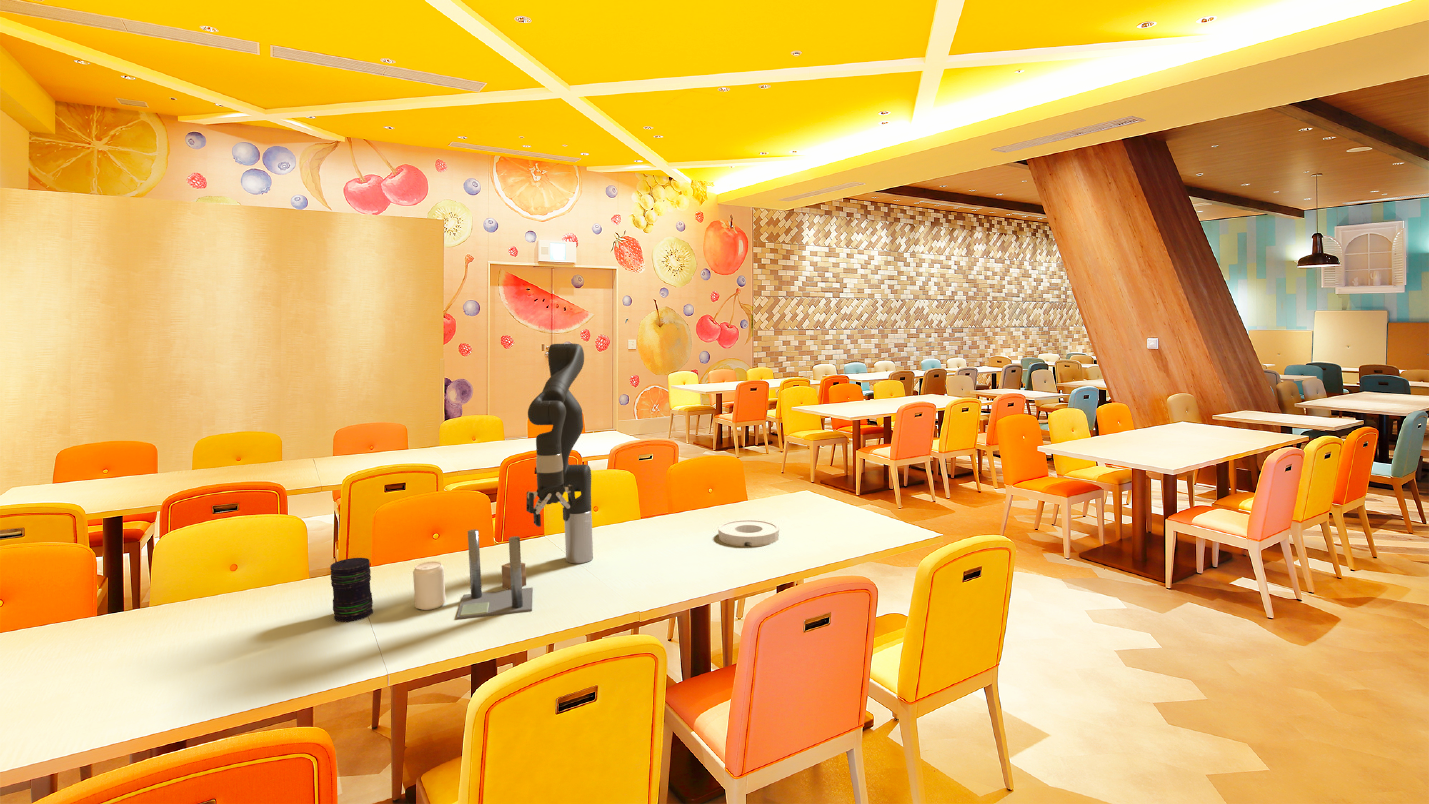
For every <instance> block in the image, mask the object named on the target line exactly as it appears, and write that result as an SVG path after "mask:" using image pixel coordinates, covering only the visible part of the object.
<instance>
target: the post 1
mask: <svg viewBox="0 0 1429 804" xmlns="http://www.w3.org/2000/svg"><path fill="white" fill-rule="evenodd" d="M479 535H480V534H479V529H469V530H467V543H468V546H467V547H468V563H469V564H468V565H469V579H470V580H469V586H470V594H471V598H472V599H478V598H481V597H482V593H483V591H482V590H483V589H482V575H481V573H482V571H481V555H480V553H481V552H480V537H479Z"/></svg>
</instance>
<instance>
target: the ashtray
mask: <svg viewBox="0 0 1429 804" xmlns="http://www.w3.org/2000/svg"><path fill="white" fill-rule="evenodd" d="M717 528H718V540H719V541H720V542H722V543H724V544H727V545H731V546H734V547H735V546H737V547H745V545H747V546H750V547H760V546H761V547H762V546H767V545H771V544H773V543H776V542H777V541H779V540H780V539H779V537H780V536H779V534H780V526H779V525H778V524H777V523H774V522H772V521H768V520H767V521H766V520H760V519H738V520H737V519H735V520H730V521H727V522H724V523H722V524H720V525H719V526H718V527H717Z"/></svg>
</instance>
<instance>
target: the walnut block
mask: <svg viewBox="0 0 1429 804" xmlns="http://www.w3.org/2000/svg"><path fill="white" fill-rule="evenodd" d="M521 575H522V588H524V587H525V586H527V572H526V563H525V562H521ZM501 582H502V588H503V589H505V590H511V576H510V562H507V563H505V564H503V565H501Z"/></svg>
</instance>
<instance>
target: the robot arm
mask: <svg viewBox="0 0 1429 804" xmlns="http://www.w3.org/2000/svg"><path fill="white" fill-rule="evenodd" d="M547 358H548V359H547V361H548V369H549V374H550V375H549V376H550V377H549V378H548V379H547V380H546V382H545V384H544V386H543V389H542V391H541V392H540V393H539V394H538V395H537V396H536V397H534V399H533V400H532V401H531V403H530V404H529V406H528V409H527V418H528V420H529V422H530V423H531V424H533V425H534V426H552V429H551V430H550V431H547V432H543V433H539V434H538V435H536V437H535V447H536V450H535V451H536V459H535V464H536V467H535V468H536V471H535V472H536V487H537V490H536V491H529V490H528V491H526V506H525V507H526V512H528V513H529V514H532V515H533V524H534V525H535V526H536V527H537V528H538V527H541V526H542V522H541V521H542V520H541V519H542V518H541V517H542V516H541V515H542V514H541V511H542V509H544V508H545V506H546V505H552V504H558V503H560V505H562V520H563V521H564V535H565V536H564V540H565V541H564V542H565V561H566V562H567V563H569V564H585V563H588V562H590V561H592V560H593V559H594V549H593V548H594V545H593V544H594V542H593V519H592V517H593V516H592V470H591V467H590V465H588V464H570V463H569V457H570V454H571V452H572V451H573V448H574V446H575V445H576V443H577V441H578V440H579V438H580V436H581V435H582V432H583V430H584V420H583V419H584V417H583V409H582V407H581V405H580V403H579V401H578V399H576V398H575V396H574V395H573V393H572V392H571V391H570V387H571V386H572V384H573V382H575V380H576V378H577V377H578V375H579V374H580V373H581V371H582V369H583V367H584V362H585V353H584V349H583V346H582V345H580V344H579V343H551V344H550V345H549V347H548V351H547ZM565 492H566V494H567V500H566V498H565V497H563V495H564V494H565ZM576 492H577V493H579V492H580V495H579V496H578V497H576ZM536 497H538V499H537V501H536V502H534V501H535V499H536Z"/></svg>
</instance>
